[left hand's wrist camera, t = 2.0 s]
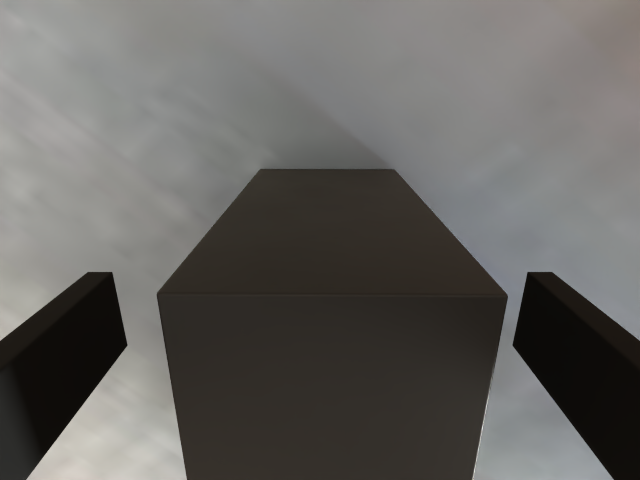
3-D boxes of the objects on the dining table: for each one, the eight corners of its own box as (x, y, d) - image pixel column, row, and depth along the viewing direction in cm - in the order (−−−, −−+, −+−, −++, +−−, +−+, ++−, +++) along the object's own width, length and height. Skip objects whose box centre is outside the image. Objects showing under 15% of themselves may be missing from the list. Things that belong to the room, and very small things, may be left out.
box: (259, 168, 18) (155, 293, 7) (394, 169, 18) (509, 295, 7) (276, 485, 26) (238, 798, 14) (373, 486, 25) (412, 801, 14)
